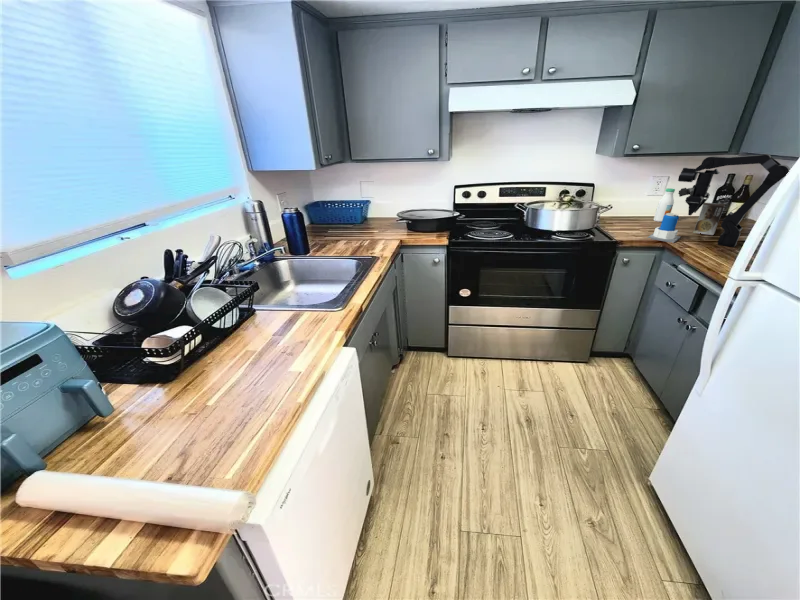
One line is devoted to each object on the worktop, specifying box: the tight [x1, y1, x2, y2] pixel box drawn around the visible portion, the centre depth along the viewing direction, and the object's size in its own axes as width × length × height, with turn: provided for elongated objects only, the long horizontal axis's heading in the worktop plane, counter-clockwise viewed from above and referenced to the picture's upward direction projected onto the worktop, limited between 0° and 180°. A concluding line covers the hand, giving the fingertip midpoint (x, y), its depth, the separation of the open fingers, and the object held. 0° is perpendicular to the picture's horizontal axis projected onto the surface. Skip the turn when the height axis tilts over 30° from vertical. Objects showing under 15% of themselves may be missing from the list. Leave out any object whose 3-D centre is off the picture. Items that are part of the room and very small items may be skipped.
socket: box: [647, 226, 681, 244], centre depth 183 cm, size 12×12×5 cm
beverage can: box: [659, 212, 680, 231], centre depth 181 cm, size 6×6×12 cm
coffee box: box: [693, 202, 726, 236], centre depth 188 cm, size 9×6×16 cm
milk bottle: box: [653, 188, 676, 223], centre depth 213 cm, size 8×8×20 cm
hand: (691, 213), depth 178 cm, fingers open, 9 cm apart
